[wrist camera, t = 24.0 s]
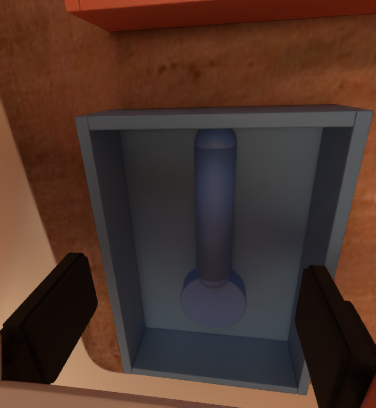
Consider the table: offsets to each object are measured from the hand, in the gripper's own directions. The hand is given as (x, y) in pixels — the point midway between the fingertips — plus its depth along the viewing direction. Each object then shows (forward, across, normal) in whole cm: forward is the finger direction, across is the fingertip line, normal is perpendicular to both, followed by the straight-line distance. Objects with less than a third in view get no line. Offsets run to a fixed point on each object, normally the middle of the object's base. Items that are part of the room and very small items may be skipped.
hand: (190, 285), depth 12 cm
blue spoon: (+6, -1, +1) cm, 6 cm away
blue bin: (+6, -1, +2) cm, 7 cm away
